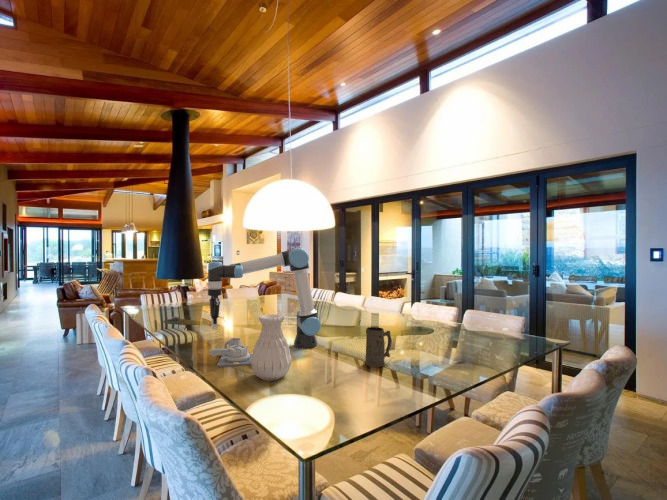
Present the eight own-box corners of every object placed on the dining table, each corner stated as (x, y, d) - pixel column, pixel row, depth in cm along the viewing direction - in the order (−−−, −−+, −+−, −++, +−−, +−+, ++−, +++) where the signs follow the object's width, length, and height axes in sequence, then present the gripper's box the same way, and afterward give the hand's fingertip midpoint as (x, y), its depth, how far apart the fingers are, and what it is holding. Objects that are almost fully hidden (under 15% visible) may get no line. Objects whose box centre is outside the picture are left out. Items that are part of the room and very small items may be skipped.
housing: (257, 355, 213) (257, 342, 213) (254, 365, 195) (254, 351, 195) (222, 356, 210) (222, 344, 210) (216, 366, 192) (216, 352, 192)
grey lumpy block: (248, 350, 209) (248, 344, 209) (246, 356, 198) (246, 349, 198) (212, 352, 206) (212, 345, 206) (208, 357, 195) (208, 350, 195)
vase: (273, 387, 164) (273, 322, 164) (242, 379, 175) (242, 317, 174) (299, 374, 181) (299, 315, 181) (270, 367, 192) (270, 311, 191)
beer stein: (370, 368, 190) (373, 330, 191) (360, 362, 200) (362, 326, 200) (394, 366, 197) (396, 329, 198) (382, 360, 207) (385, 325, 207)
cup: (239, 356, 212) (239, 341, 212) (222, 356, 212) (222, 340, 212) (242, 352, 219) (242, 338, 219) (226, 352, 219) (226, 337, 219)
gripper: (205, 287, 210) (204, 327, 211) (211, 289, 200) (210, 332, 200) (217, 287, 215) (217, 326, 215) (224, 289, 204) (224, 330, 204)
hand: (214, 329), depth 207 cm, fingers closed
